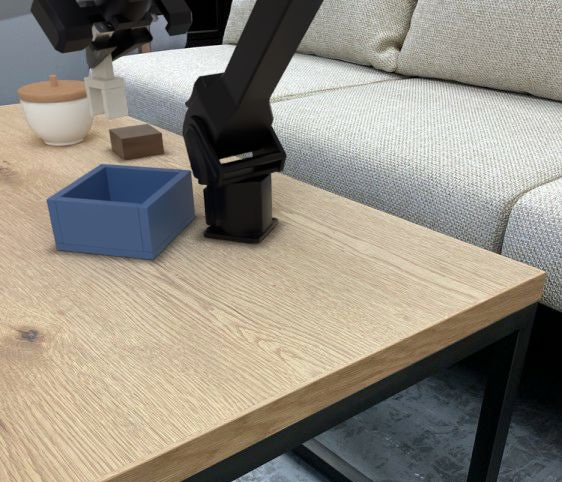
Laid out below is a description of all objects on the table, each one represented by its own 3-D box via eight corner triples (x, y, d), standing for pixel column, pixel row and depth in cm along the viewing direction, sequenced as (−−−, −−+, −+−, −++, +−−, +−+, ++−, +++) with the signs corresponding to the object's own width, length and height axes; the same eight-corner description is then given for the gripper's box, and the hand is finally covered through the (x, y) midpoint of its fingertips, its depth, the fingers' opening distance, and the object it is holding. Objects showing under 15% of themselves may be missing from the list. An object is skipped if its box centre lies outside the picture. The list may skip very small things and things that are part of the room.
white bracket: (128, 115, 89) (117, 32, 83) (109, 120, 87) (96, 36, 82) (109, 110, 91) (96, 30, 86) (89, 115, 89) (76, 33, 84)
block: (164, 153, 102) (162, 132, 100) (124, 160, 99) (121, 138, 97) (150, 143, 106) (147, 123, 104) (111, 149, 104) (108, 129, 102)
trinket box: (26, 135, 111) (12, 72, 106) (94, 128, 114) (84, 66, 109) (31, 153, 102) (16, 85, 97) (104, 145, 105) (94, 79, 100)
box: (195, 217, 81) (191, 169, 77) (153, 260, 71) (147, 207, 68) (108, 209, 83) (101, 163, 80) (56, 250, 73) (45, 199, 70)
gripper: (166, -101, 80) (121, 3, 92) (18, -100, 69) (-10, 18, 81) (218, -20, 80) (166, 73, 92) (79, -5, 68) (41, 98, 81)
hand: (95, 64), depth 86 cm, fingers closed on white bracket
